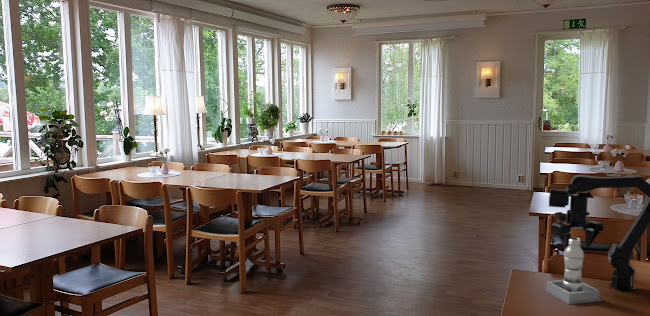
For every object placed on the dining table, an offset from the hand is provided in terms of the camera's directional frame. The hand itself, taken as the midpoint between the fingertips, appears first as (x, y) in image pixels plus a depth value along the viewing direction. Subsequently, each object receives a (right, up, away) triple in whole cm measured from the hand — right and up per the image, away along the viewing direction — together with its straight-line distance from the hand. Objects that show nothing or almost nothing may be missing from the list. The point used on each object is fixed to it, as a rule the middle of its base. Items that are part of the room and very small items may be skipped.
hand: (576, 249), depth 189 cm
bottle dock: (-7, -14, -11) cm, 20 cm away
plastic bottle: (-7, -14, -11) cm, 19 cm away
